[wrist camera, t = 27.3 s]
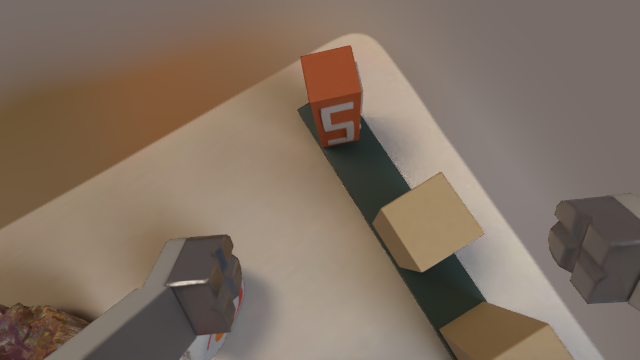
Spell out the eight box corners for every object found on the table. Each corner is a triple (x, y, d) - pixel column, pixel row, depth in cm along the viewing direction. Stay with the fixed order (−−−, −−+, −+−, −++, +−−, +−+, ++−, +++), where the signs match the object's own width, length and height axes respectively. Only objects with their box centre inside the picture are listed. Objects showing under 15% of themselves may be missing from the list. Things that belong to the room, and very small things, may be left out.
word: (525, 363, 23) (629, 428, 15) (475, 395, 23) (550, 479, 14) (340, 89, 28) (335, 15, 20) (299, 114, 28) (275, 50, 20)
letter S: (322, 150, 27) (310, 106, 19) (315, 113, 27) (300, 55, 19) (362, 142, 26) (366, 94, 19) (354, 105, 27) (354, 43, 19)
